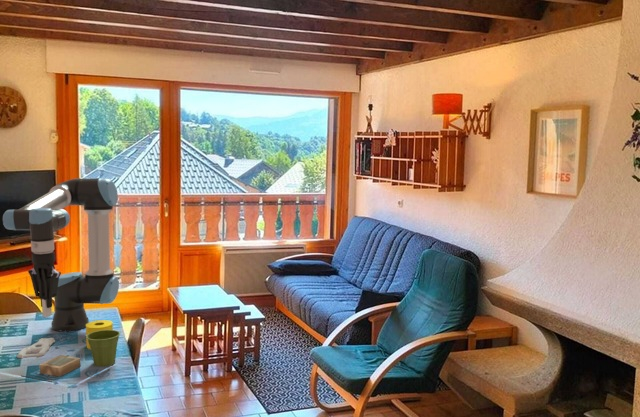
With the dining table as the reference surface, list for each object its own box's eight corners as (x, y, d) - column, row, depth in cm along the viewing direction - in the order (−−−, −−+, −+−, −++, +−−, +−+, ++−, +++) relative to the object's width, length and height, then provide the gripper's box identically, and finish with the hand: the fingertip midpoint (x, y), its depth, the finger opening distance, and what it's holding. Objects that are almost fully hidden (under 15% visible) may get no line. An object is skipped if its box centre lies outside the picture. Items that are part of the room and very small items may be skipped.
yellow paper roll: (114, 341, 250) (113, 319, 248) (112, 350, 240) (111, 327, 239) (88, 343, 247) (87, 320, 246) (85, 352, 238) (84, 328, 236)
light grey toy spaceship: (30, 336, 246) (56, 335, 247) (30, 344, 246) (56, 343, 248) (14, 354, 228) (43, 353, 229) (15, 363, 229) (43, 362, 230)
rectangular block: (39, 364, 215) (59, 367, 212) (60, 354, 225) (80, 358, 221) (39, 372, 216) (59, 376, 212) (61, 362, 225) (80, 366, 222)
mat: (55, 360, 229) (55, 359, 229) (85, 365, 224) (85, 364, 224) (21, 376, 214) (21, 374, 214) (52, 382, 209) (52, 380, 209)
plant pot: (128, 360, 229) (127, 331, 228) (107, 372, 218) (106, 341, 217) (101, 356, 233) (100, 327, 232) (80, 367, 222) (78, 337, 221)
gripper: (20, 252, 217) (25, 317, 220) (49, 255, 212) (53, 321, 215) (37, 248, 223) (41, 311, 227) (65, 251, 219) (69, 315, 222)
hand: (47, 315), depth 221 cm, fingers closed
